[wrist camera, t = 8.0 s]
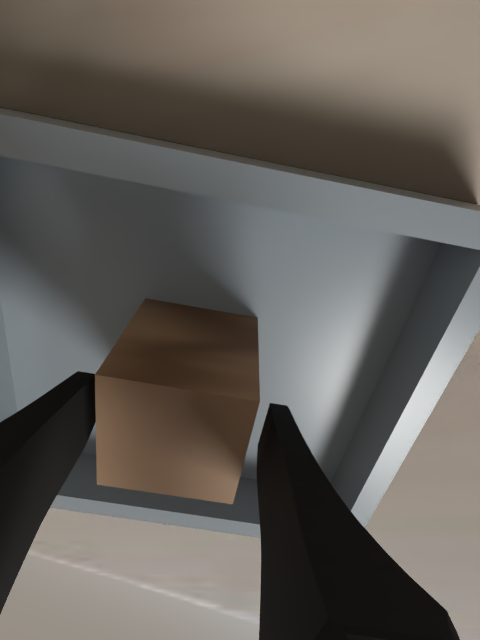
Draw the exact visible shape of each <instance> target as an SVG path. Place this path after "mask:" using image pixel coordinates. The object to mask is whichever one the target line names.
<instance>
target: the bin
mask: <svg viewBox="0 0 480 640" xmlns="http://www.w3.org/2000/svg"><path fill="white" fill-rule="evenodd" d="M145 298H147V299H153V300H159V301H165V302H170V303H176V304H182V305H187V306H193V307H199V308H205V309H210V310H216V311H222V312H228V313H233V314H239V315H245V316H250V317H256V318H258V344H259V381H260V403H259V407H258V411H257V415H256V418H255V422H254V426H253V430H252V434H251V437H250V441H249V445H248V449H247V452H246V456H245V460H244V464H243V467H242V471H241V475H240V479H239V482H238V486H237V490H236V494H235V497H234V501H233V504H227V503H220V502H213V501H206V500H199V499H192V498H185V497H179V496H172V495H165V494H158V493H151V492H144V491H137V490H130V489H124V488H117V487H110V486H103V485H97V464H96V422H95V425H94V427H93V430H92V432H91V434H90V437H89V439H88V441H87V443H86V446H85V448H84V450H83V451H82V453H81V455H80V457H79V458H78V460H77V462H76V464H75V465H74V467H73V469H72V470H71V472H70V474H69V476H68V477H67V479H66V481H65V482H64V484H63V486H62V488H61V489H60V491H59V493H58V494H57V496H56V498H55V500H54V501H53V503H52V505H51V506H50V508H56V509H63V510H70V511H77V512H84V513H91V514H98V515H105V516H112V517H119V518H126V519H133V520H140V521H147V522H154V523H161V524H168V525H175V526H182V527H189V528H196V529H203V530H210V531H216V532H223V533H230V534H237V535H244V536H251V537H258V538H261V533H260V519H259V505H258V490H257V474H256V473H257V450H258V442H259V439H260V435H261V432H262V428H263V425H264V421H265V418H266V415H267V411H268V408H269V404H270V403H274V404H280V405H286V406H288V408H289V409H290V411H291V413H292V416H293V418H294V420H295V422H296V424H297V426H298V428H299V430H300V432H301V434H302V436H303V438H304V440H305V441H306V443H307V445H308V447H309V449H310V450H311V452H312V454H313V456H314V457H315V459H316V461H317V463H318V464H319V466H320V468H321V469H322V471H323V472H324V474H325V475H326V477H327V479H328V480H329V482H330V483H331V485H332V486H333V488H334V489H335V491H336V492H337V493H338V495H339V496H340V498H341V499H342V500H343V502H344V503H345V504H346V506H347V507H348V508H349V510H350V511H351V512H352V513H353V515H354V516H355V517H356V519H357V520H358V521H359V522H360V523H361V525H362V526H363V527H364V528H365V526H366V524H367V523H368V521H369V519H370V517H371V516H372V514H373V512H374V510H375V509H376V507H377V505H378V504H379V502H380V500H381V498H382V497H383V495H384V493H385V491H386V490H387V488H388V486H389V485H390V483H391V481H392V479H393V478H394V476H395V474H396V472H397V471H398V469H399V467H400V465H401V464H402V462H403V460H404V459H405V457H406V455H407V453H408V452H409V450H410V448H411V446H412V445H413V443H414V441H415V439H416V438H417V436H418V434H419V433H420V431H421V429H422V427H423V426H424V424H425V422H426V420H427V419H428V417H429V415H430V414H431V412H432V410H433V408H434V407H435V405H436V403H437V401H438V400H439V398H440V396H441V394H442V393H443V391H444V389H445V388H446V386H447V384H448V382H449V381H450V379H451V377H452V375H453V374H454V372H455V370H456V368H457V367H458V365H459V363H460V362H461V360H462V358H463V356H464V355H465V353H466V351H467V349H468V348H469V346H470V344H471V343H472V341H473V339H474V337H475V336H476V334H477V332H478V330H479V329H480V205H477V204H472V203H467V202H462V201H457V200H453V199H448V198H443V197H438V196H433V195H428V194H423V193H418V192H413V191H408V190H404V189H399V188H394V187H389V186H384V185H379V184H374V183H369V182H364V181H359V180H355V179H350V178H345V177H340V176H335V175H330V174H325V173H320V172H315V171H310V170H306V169H301V168H296V167H291V166H286V165H281V164H276V163H271V162H266V161H261V160H257V159H252V158H247V157H242V156H237V155H232V154H227V153H222V152H217V151H212V150H208V149H203V148H198V147H193V146H188V145H183V144H178V143H173V142H168V141H163V140H159V139H154V138H149V137H144V136H139V135H134V134H129V133H124V132H119V131H114V130H110V129H105V128H100V127H95V126H90V125H85V124H80V123H75V122H70V121H66V120H61V119H56V118H51V117H46V116H41V115H36V114H31V113H26V112H21V111H17V110H12V109H7V108H2V107H0V422H2V421H3V420H5V419H6V418H8V417H10V416H11V415H13V414H15V413H16V412H18V411H20V410H21V409H23V408H24V407H26V406H27V405H29V404H30V403H32V402H33V401H35V400H36V399H38V398H39V397H41V396H42V395H44V394H45V393H47V392H48V391H50V390H51V389H53V388H54V387H55V386H57V385H58V384H60V383H61V382H63V381H64V380H66V379H67V378H68V377H70V376H71V375H73V374H74V373H76V372H77V371H81V372H87V373H93V374H96V372H97V371H98V369H99V368H100V366H101V365H102V363H103V362H104V360H105V359H106V357H107V356H108V354H109V353H110V351H111V350H112V348H113V347H114V345H115V344H116V342H117V340H118V339H119V337H120V336H121V334H122V333H123V331H124V330H125V328H126V327H127V325H128V324H129V322H130V321H131V319H132V318H133V316H134V315H135V313H136V312H137V310H138V309H139V307H140V306H141V304H142V303H143V301H144V300H145Z"/></svg>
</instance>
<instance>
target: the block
mask: <svg viewBox="0 0 480 640" xmlns="http://www.w3.org/2000/svg"><path fill="white" fill-rule="evenodd" d="M259 403H260V381H259V344H258V318H256V317H250V316H245V315H239V314H233V313H228V312H222V311H216V310H210V309H205V308H199V307H193V306H187V305H182V304H176V303H170V302H165V301H159V300H153V299H147V298H145V300H144V301H143V303H142V304H141V306H140V307H139V309H138V310H137V312H136V313H135V315H134V316H133V318H132V319H131V321H130V322H129V324H128V325H127V327H126V328H125V330H124V331H123V333H122V334H121V336H120V337H119V339H118V340H117V342H116V344H115V345H114V347H113V348H112V350H111V351H110V353H109V354H108V356H107V357H106V359H105V360H104V362H103V363H102V365H101V366H100V368H99V369H98V371H97V372H96V374H95V409H96V464H97V485H103V486H110V487H117V488H124V489H130V490H137V491H144V492H151V493H158V494H165V495H172V496H179V497H185V498H192V499H199V500H206V501H213V502H220V503H227V504H233V501H234V497H235V494H236V490H237V486H238V482H239V479H240V475H241V471H242V467H243V464H244V460H245V456H246V452H247V449H248V445H249V441H250V437H251V434H252V430H253V426H254V422H255V418H256V415H257V411H258V407H259Z"/></svg>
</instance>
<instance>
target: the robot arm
mask: <svg viewBox="0 0 480 640" xmlns="http://www.w3.org/2000/svg"><path fill="white" fill-rule="evenodd" d="M95 422H96V409H95V374H93V373H87V372H81V371H77V372H76V373H74V374H73V375H71V376H70V377H68V378H67V379H66V380H64V381H63V382H61V383H60V384H58V385H57V386H55V387H54V388H53V389H51V390H50V391H48V392H47V393H45V394H44V395H42V396H41V397H39V398H38V399H36V400H35V401H33V402H32V403H30V404H29V405H27V406H26V407H24V408H23V409H21V410H20V411H18V412H16V413H15V414H13V415H11V416H10V417H8V418H6V419H5V420H3V421H2V422H0V614H1V611H2V609H3V606H4V604H5V602H6V600H7V597H8V595H9V593H10V590H11V588H12V586H13V584H14V581H15V579H16V577H17V575H18V572H19V570H20V568H21V566H22V564H23V561H24V559H25V557H26V555H27V553H28V550H29V548H30V546H31V544H32V542H33V540H34V538H35V535H36V533H37V531H38V529H39V527H40V525H41V523H42V521H43V519H44V517H45V515H46V514H47V512H48V510H49V508H50V506H51V505H52V503H53V501H54V500H55V498H56V496H57V494H58V493H59V491H60V489H61V488H62V486H63V484H64V482H65V481H66V479H67V477H68V476H69V474H70V472H71V470H72V469H73V467H74V465H75V464H76V462H77V460H78V458H79V457H80V455H81V453H82V451H83V450H84V448H85V446H86V443H87V441H88V439H89V437H90V434H91V432H92V430H93V427H94V425H95ZM256 474H257V490H258V505H259V519H260V533H261V600H260V631H259V640H460V639H459V636H458V634H457V631H456V629H455V627H454V625H453V623H452V621H451V619H450V617H449V615H448V613H447V611H446V610H445V609H444V608H443V607H442V606H441V605H440V604H439V603H438V602H437V601H436V600H435V599H433V598H432V597H431V596H430V595H429V594H428V593H427V592H426V591H425V590H424V589H423V588H422V587H420V586H419V585H418V584H417V583H416V582H415V581H414V580H413V579H412V578H411V577H410V576H409V575H408V574H407V573H406V572H405V571H404V570H403V569H402V568H401V567H400V566H399V565H398V564H397V563H396V562H395V561H394V560H393V559H392V558H391V557H390V556H389V555H388V554H387V553H386V552H385V551H384V550H383V548H382V547H381V546H380V545H379V544H378V543H377V542H376V541H375V539H374V538H373V537H372V536H371V535H370V534H369V533H368V531H367V530H366V529H365V528H364V527H363V526H362V525H361V523H360V522H359V521H358V520H357V519H356V517H355V516H354V515H353V513H352V512H351V511H350V510H349V508H348V507H347V506H346V504H345V503H344V502H343V500H342V499H341V498H340V496H339V495H338V493H337V492H336V491H335V489H334V488H333V486H332V485H331V483H330V482H329V480H328V479H327V477H326V475H325V474H324V472H323V471H322V469H321V468H320V466H319V464H318V463H317V461H316V459H315V457H314V456H313V454H312V452H311V450H310V449H309V447H308V445H307V443H306V441H305V440H304V438H303V436H302V434H301V432H300V430H299V428H298V426H297V424H296V422H295V420H294V418H293V416H292V413H291V411H290V409H289V408H288V406H286V405H280V404H274V403H270V404H269V408H268V411H267V415H266V418H265V421H264V425H263V428H262V432H261V435H260V439H259V442H258V450H257V473H256Z"/></svg>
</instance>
